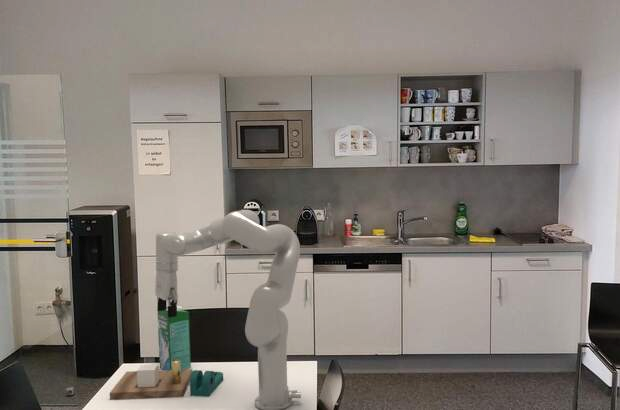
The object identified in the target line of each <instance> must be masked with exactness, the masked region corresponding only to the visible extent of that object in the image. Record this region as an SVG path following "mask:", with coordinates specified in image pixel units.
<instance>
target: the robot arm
mask: <svg viewBox="0 0 620 410" xmlns="http://www.w3.org/2000/svg"><path fill="white" fill-rule="evenodd" d="M260 223H261V222H260V218H259V215H258V214H257V213H256V212H255V211H253V210H250V209H240V210H236V211H232V212H229V213H228V214H227V215H226V216H223V217H220V218H217V219H214V220H213V221H211V222H210V224H209V225H207V226H205V227H202V228H200V229H199V228H198V229H197V230H193V231H186V232H183V233H176V232H173V231H160V232H158V233H156V236H155V288H154V292H155V293H154V295H155V296H156V297H157V307H158V311H164V310H166V309H167V307H168V317H169V318H170V317H176V316H177V306H178V298H179V295H178V278H177V277H178V276H177V272H178V269H179V267H178V265H179V264H178V263H179V262H178V261H179V260H178V259H179V258H178V256H185V255H189V254H193V253H197V252H200V251H203V250H206V249H209V248H213V247H214V246H218V245H220V246H221V245H223V244H226V243H230V242H231V241H232V242H233V241H235V242H236V243H239V244H241V245H242V246H244V247H246V248H248V249H249V250H251V251H254V252H255V253H258V254H261V255H268V254H271V253H274V252H275V254H274V257H273V259H272V261H271V264H270V267H269V268H270V270H269V274H268V277H267V281H266V282H265V283H263V284H260V285H259V286H258V287H257V288H256V289H255V290H253V291H254V292H253V293H252V296H251V298H250V301H249V307H248V312H247V316H246V319H245V320H246V321H245V325H244V333H245V337H246V340H247V342H248V343H249V344H250V345H252V346H254V347H256V348H257V370H258V372H257V374H258V396H256V398H254V406H255V407H256V408H257V409H259V410H284V409H286V408H289V407H291V405H292V404H293V399H301V398H302V392H300V391H299V392H298V390H296V389H294V390H291V389H289V386H288V367H287V365H288V360H287V359H288V358H287V357H288V356H287V349H288V348H287V344H288V343H287V342H288V341H287V340H288V332H289V320H288V317H287V315H286V314H285V313H284V312H283V311H282V310H281V309H283V308H284V307H285V306H287V305H288V304H289V303H290V301H291V298H292V292H293V289H294V283H295V279H296V273H297V269H298V264H299V260H300V255H301V244H300V241H299V237H298V236H297V234H296V233H295V232H294V230H293V229H292V228H290V227H289V226H287V225H285V224H281V223H277V224H276V223H275V224H271V225H267V226H262V225H260ZM167 305H168V306H167Z"/></svg>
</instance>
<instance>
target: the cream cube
mask: <svg viewBox="0 0 620 410" xmlns="http://www.w3.org/2000/svg"><path fill="white" fill-rule="evenodd" d="M136 371H137V381H138V387H155V386H156V384H157V383H158V381H159V363H152V364H151V363H150V364H141V365H140V366H139V368H138V369H137V370H136Z"/></svg>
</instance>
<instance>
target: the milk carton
mask: <svg viewBox="0 0 620 410" xmlns="http://www.w3.org/2000/svg"><path fill="white" fill-rule="evenodd" d="M166 307H167V309H166V310H164V311H158V306H157V307H156V308H157V309H156V311H157V334H158V358H159V359H158V360H159V363H158V364H159V369H161V370H172V360H175V359H179V360H180V370H184V369H191V368H192V367H191V364H192V363H191V361H192V360H191V359H192V358H191V342H190V341H191V340H190V339H191V337H190V336H191V335H190V312H189V311H187V310H184V309H183V307H182V306H178V305H177V316H176V317H170V318H169V317H168V306H166Z"/></svg>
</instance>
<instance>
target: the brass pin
mask: <svg viewBox="0 0 620 410" xmlns="http://www.w3.org/2000/svg"><path fill="white" fill-rule="evenodd" d="M172 383H173V384H179V383H181V370H180V360H179V359H175V360H172Z"/></svg>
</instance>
